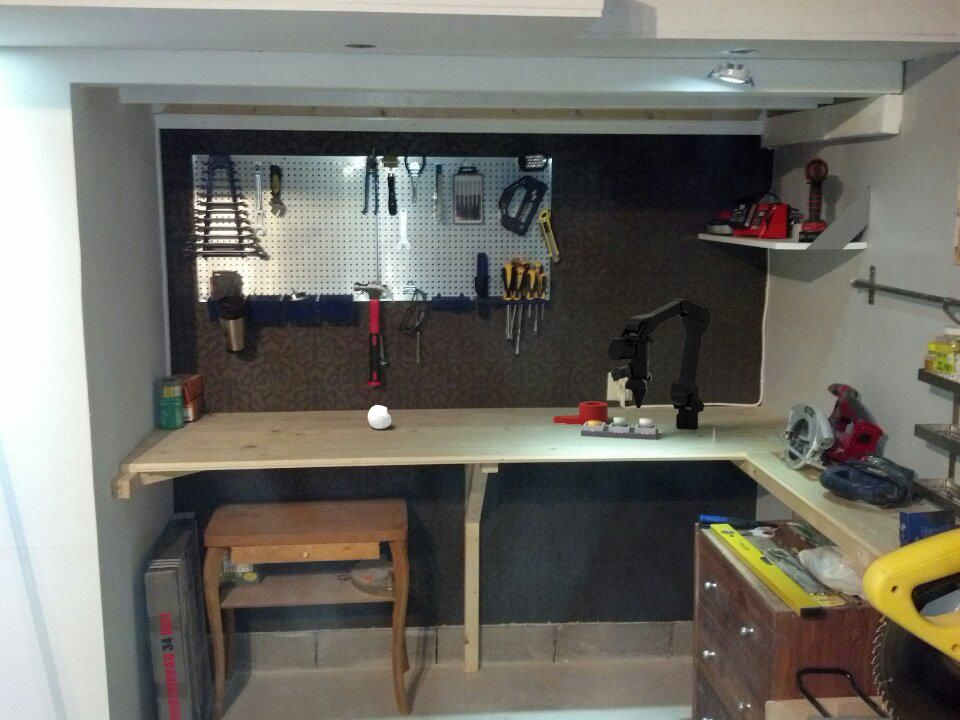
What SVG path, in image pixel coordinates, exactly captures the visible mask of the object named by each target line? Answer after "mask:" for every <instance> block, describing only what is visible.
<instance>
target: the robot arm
mask: <svg viewBox="0 0 960 720" xmlns="http://www.w3.org/2000/svg"><path fill="white" fill-rule="evenodd" d="M711 316H712V314H711V312H710V310H709V309H708V308H706V307H702V306H700V305H697V304H695V303H693V302H691V301H689V300H687V299H685V298H674V299H673V300H671V302H668V303H667V304H665V305H662V306H661V307H658V308H657V309H655V310H652V311H651V312H650V311H649V312H648V313H645V314H638V315H634V316H631V317H629V318H628V319H627V322H626V324H625V326H624V328H623V329H622V332H621V334H620V336H619V337H613V338H612V342H611V343H610V344H609V346H608V348H607V355H608V358H609V359H610V360H611V361H614V362H618V361H626V360H629V361H628V362H627V365H624V366H622V367H620V366H617V367H614V368H613V369H612V370H611V371H610V377H611V378H612V381H613V382H618V381H619V380H622V379H625V378H626V379H627V380H626V381H625V382H624V389H625V390H630V391H631V392H632V395H633V398H634V403H635V406H636V409H641V407H642V405H643V402H644V400H645V398H646V395H647V393H648V390H649V388H650V384H648V382H650V383H651V382H652V379H653V375H652V373H651V372H650V371H649V364H650V360H649V344H651V343H654V342H655V341H654V339H653V338H652V337H650V335H652V333H654V332H655V331H656V330H657V327H658V326H660V325H661V324H664V323H665V322H667V321H668V320H671V319H673V318H675V317H680V318H681V319H682V326H683V329H684V332H685V339H684V345H683V354H682V359H681V364H680V365H681V366H680V373H679V378H678V379H677V380H676V382H674V381H672V383H671V389H670V393H669V395H670V401H672V405H673V409H674V410H678V412H677V413H676V417H675V423H676V424H675V427H676V429H678V430H686V431H687V430H689V431H691V430H693V431H698V430H699V413H701V412H704V410H705V404H704V402H703V401H702V400H701V399H700V398H699V387H698V385H697V382H696V376H697V370H698V363H699V356H700V350H701V343H702V337H703V335H704V334H705V332H706V331H707V330H708V328H709V326H710V325H709V324H710V322H711ZM647 381H648V382H647Z"/></svg>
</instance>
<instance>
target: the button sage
mask: <svg viewBox="0 0 960 720" xmlns="http://www.w3.org/2000/svg"><path fill="white" fill-rule="evenodd" d="M627 419H628V418H627V417H626V416H614V417H613V423H614V425H619V426H623V425H626V424H628V423H627V421H628V420H627Z"/></svg>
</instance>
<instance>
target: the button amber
mask: <svg viewBox="0 0 960 720" xmlns="http://www.w3.org/2000/svg"><path fill="white" fill-rule="evenodd" d="M588 425H593V426H601V421H596V420H591V421H588Z"/></svg>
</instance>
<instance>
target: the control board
mask: <svg viewBox="0 0 960 720" xmlns="http://www.w3.org/2000/svg"><path fill="white" fill-rule="evenodd" d="M606 425H607V424H606V423H604V422H601V426H593V425H588V422H585V424H584V425H582V429H581V430H580V436H581V437H582V436H583V437H598V438H614V439H615V438H617V439H635V440H650V441H652V440H655V441H656V440H657V438H658V436H659V428H658V424H653V426H651V427H642V426H639V423H637V424H636V425H635V427H632V424H631V423H627V424H626V425H623V426H619V425H614V422H611V423H610V424H609V426H606Z"/></svg>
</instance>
